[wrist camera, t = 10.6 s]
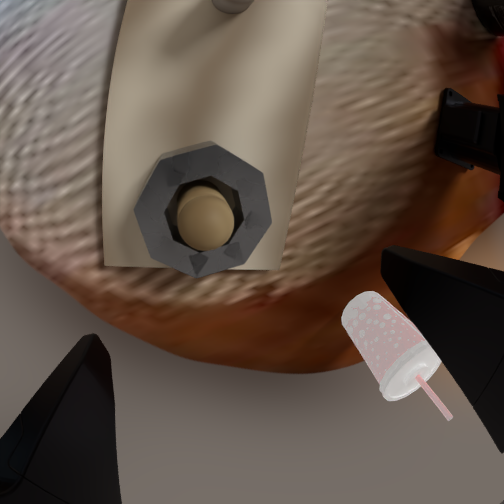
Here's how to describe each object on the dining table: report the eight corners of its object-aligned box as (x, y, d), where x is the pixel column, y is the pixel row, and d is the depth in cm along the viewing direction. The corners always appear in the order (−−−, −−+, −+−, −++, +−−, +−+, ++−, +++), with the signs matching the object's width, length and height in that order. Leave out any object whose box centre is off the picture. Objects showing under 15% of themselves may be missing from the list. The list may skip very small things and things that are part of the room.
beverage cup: (324, 335, 27) (401, 455, 15) (351, 280, 25) (457, 397, 13) (370, 336, 29) (445, 433, 17) (396, 286, 27) (492, 380, 15)
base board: (324, -24, 13) (371, -53, 8) (274, 263, 22) (306, 310, 17) (149, -55, 10) (145, -103, 5) (107, 258, 19) (89, 310, 14)
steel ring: (245, 132, 17) (256, 135, 15) (265, 237, 20) (277, 254, 18) (128, 164, 16) (121, 172, 14) (163, 267, 19) (162, 288, 17)
